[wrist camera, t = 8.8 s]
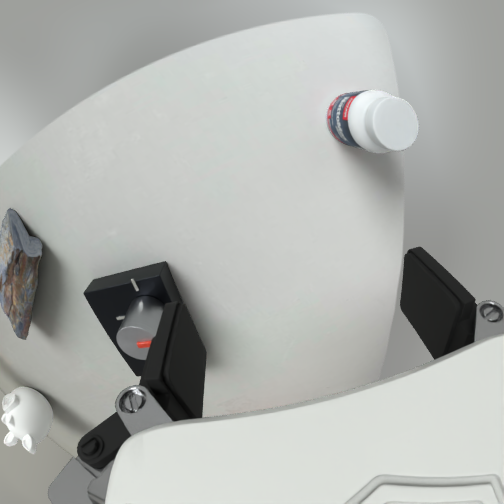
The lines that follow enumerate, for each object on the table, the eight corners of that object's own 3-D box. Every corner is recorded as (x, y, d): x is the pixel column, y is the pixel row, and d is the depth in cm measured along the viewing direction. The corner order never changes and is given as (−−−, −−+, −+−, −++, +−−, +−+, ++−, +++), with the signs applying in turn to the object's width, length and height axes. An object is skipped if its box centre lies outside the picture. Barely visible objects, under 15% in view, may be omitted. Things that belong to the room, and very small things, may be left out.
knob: (139, 330, 30) (127, 363, 25) (123, 298, 28) (107, 331, 23) (174, 325, 30) (166, 360, 25) (160, 292, 28) (148, 326, 23)
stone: (-9, 205, 23) (27, 256, 22) (19, 200, 27) (58, 245, 27) (-15, 301, 28) (18, 348, 28) (6, 291, 33) (39, 334, 32)
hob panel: (91, 277, 30) (81, 291, 27) (175, 255, 30) (170, 270, 27) (141, 361, 36) (136, 377, 34) (216, 350, 36) (215, 368, 33)
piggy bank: (22, 367, 38) (-8, 424, 24) (66, 403, 42) (45, 461, 29) (10, 382, 41) (-14, 430, 27) (48, 413, 45) (30, 462, 32)
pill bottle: (323, 92, 23) (362, 82, 15) (372, 95, 23) (424, 92, 15) (326, 145, 25) (365, 158, 17) (374, 146, 26) (424, 161, 18)
